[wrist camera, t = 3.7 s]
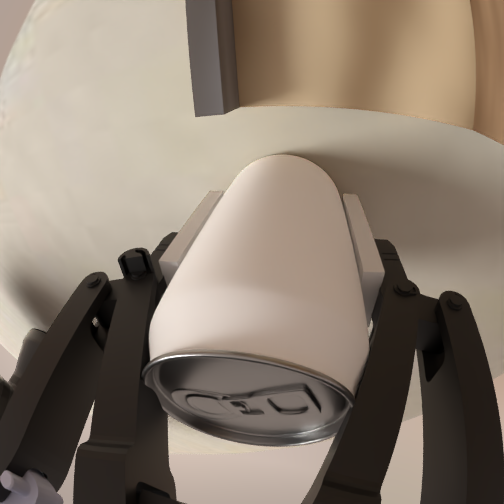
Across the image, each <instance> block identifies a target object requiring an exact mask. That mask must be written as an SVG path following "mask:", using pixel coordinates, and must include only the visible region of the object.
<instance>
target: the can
mask: <svg viewBox="0 0 504 504" xmlns="http://www.w3.org/2000/svg"><path fill="white" fill-rule="evenodd" d="M149 352H150V362H149V363H148V364H147V365H146V366H145V367H144V369H143V371H142V376H141V378H142V381H143V382H144V384H145V385H146V386H148V387H150V388H151V389H153V390H154V391H155V393H156V394H157V396H158V398H159V401H160V403H161V406H162V408H163V410H164V411H165V413H167V414H168V415H170V416H171V417H173V418H174V419H176V420H178V421H179V422H181V423H183V424H185V425H187V426H189V427H191V428H193V429H195V430H198V431H200V432H203V433H205V434H208V435H211V436H214V437H217V438H221V439H225V440H228V441H233V442H238V443H243V444H249V445H258V446H272V447H284V446H299V445H306V444H312V443H316V442H320V441H324V440H327V439H329V438H332V437H334V436H336V434H337V432H338V431H339V428H340V426H341V424H342V422H343V420H344V418H345V416H346V414H347V412H348V410H349V408H350V407H351V408H352V407H353V405H354V403H355V402H356V399H355V395H356V392H357V389H358V387H359V384H360V381H361V378H362V376H363V373H364V370H365V367H366V364H367V361H368V357H369V353H370V347H369V336H368V327H367V320H366V313H365V307H364V301H363V295H362V289H361V284H360V278H359V273H358V268H357V263H356V259H355V254H354V249H353V245H352V241H351V236H350V232H349V228H348V224H347V220H346V216H345V213H344V209H343V205H342V202H341V198H340V195H339V192H338V190H337V188H336V186H335V184H334V182H333V181H332V179H331V178H330V177H329V175H328V174H327V173H326V172H325V171H324V170H323V169H321V168H320V167H319V166H317V165H316V164H314V163H313V162H311V161H309V160H306V159H304V158H301V157H298V156H293V155H272V156H267V157H263V158H261V159H258V160H256V161H254V162H252V163H251V164H249V165H248V166H246V167H245V168H244V169H243V170H242V171H241V172H240V173H239V174H238V175H237V176H236V178H235V179H234V180H233V182H232V183H231V185H230V186H229V188H228V189H227V191H226V192H225V194H224V195H223V197H222V198H221V200H220V201H219V203H218V204H217V206H216V208H215V209H214V211H213V212H212V214H211V215H210V217H209V218H208V220H207V222H206V223H205V225H204V226H203V228H202V230H201V231H200V233H199V235H198V236H197V238H196V239H195V241H194V243H193V244H192V246H191V248H190V249H189V251H188V253H187V254H186V256H185V258H184V260H183V261H182V263H181V265H180V266H179V268H178V270H177V271H176V273H175V275H174V277H173V279H172V280H171V282H170V284H169V286H168V287H167V289H166V291H165V293H164V295H163V297H162V299H161V300H160V302H159V304H158V306H157V308H156V310H155V313H154V315H153V318H152V320H151V324H150V329H149Z"/></svg>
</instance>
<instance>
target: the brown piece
mask: <svg viewBox="0 0 504 504" xmlns="http://www.w3.org/2000/svg"><path fill="white" fill-rule="evenodd" d="M186 17H187V32H188V45H189V57H190V69H191V79H192V90H193V100H194V109H195V117H200V116H211V115H223V114H226V113H228V112H230V111H232V110H235V109H237V108H239V107H256V106H315V107H335V108H349V109H360V110H369V111H378V112H386V113H393V114H400V115H406V116H412V117H417V118H423V119H428V120H433V121H438V122H442V123H447V124H451V125H455V126H459V127H463V128H467V129H471V130H474V131H476V132H478V133H480V134H482V135H485V136H487V137H489V138H491V139H493V140H495V141H497V142H499V143H501V144H503V145H504V0H186Z"/></svg>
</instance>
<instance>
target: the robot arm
mask: <svg viewBox="0 0 504 504" xmlns="http://www.w3.org/2000/svg"><path fill="white" fill-rule="evenodd" d="M222 197H223V191H209V193H208V194H207V195H206V197H205V198H204V199H203V200H202V202H201V203H200V204H199V206H198V207H197V208H196V210H195V211H194V212H193V214H192V215H191V216H190V218H189V219H188V220H187V222H186V223H185V225H184V226H183V227H182V229H181V230H180V231H179V233H177V232H172V233H170V234H169V235H167V236H166V237H164V238H163V240H162V241H161V242H160V244H159V245H158V246H157V247H156V249H155V251H153V253H152V254H151V255H150V254H149V251H148V250H147V249H144V248H134V249H130V250H128V251H126V252H124V253H123V254H122V255H120V257H119V258H118V262H119V265H120V268H121V270H122V273H123V276H124V278H123V279H119V280H112V281H109V279H108V276H107V275H106V274H105V273H104V272H95V273H92V274H90V275H88V276H87V277H86V278H85V279H84V280H83V281H82V282H81V283H80V285H79V286H78V287H77V289H76V290H75V292H74V293H73V294H72V296H71V297H70V299H69V300H68V302H67V303H66V304H65V306H64V307H63V309H62V310H61V312H60V313H59V315H58V316H57V318H56V319H55V321H54V322H53V324H52V326H51V327H50V329H49V330H48V332H47V334H46V333H44V332H42V331H39V330H36V329H31V330H30V331H29V332H28V334H27V335H26V337H25V338H24V340H23V345H22V348H21V351H20V354H19V358H18V362H17V366H16V369H15V372H14V374H13V375H12V377H11V378H10V380H9V381H8V382H7V381H5V380H4V379H3V378H2V377H1V376H0V504H63V499H62V497H61V496H60V495H59V494H58V493H57V492H58V490H59V489H60V487H61V486H62V484H63V482H64V480H65V478H66V476H67V474H68V471H69V468H70V466H71V463H72V460H73V457H74V454H75V451H76V448H77V445H78V442H79V439H80V437H81V434H82V431H83V428H84V426H85V423H86V420H87V418H88V415H89V413H90V410H91V408H92V405H93V402H94V400H95V403H94V409H93V416H92V424H91V432H90V438H89V440H88V441H87V442H85V443H82V444H80V446H79V447H78V449H77V453H76V459H75V472H74V493H73V495H74V496H73V504H185V503H182V502H179V501H177V500H176V489H175V482H174V478H173V476H172V474H171V471H170V468H169V458H168V457H169V455H168V414H167V413H165V411H164V410H163V408H162V406H161V403H160V401H159V398H158V396H157V394H156V393H155V391H154V390H153V389H151V388H150V387H148V386H146V385H145V384H144V382H143V381H142V378H141V376H142V371H143V369H144V367H145V366H146V365H147V364H148V363H149V362H150V352H149V329H150V324H151V320H152V318H153V315H154V313H155V310H156V308H157V306H158V304H159V302H160V300H161V299H162V297H163V295H164V293H165V291H166V289H167V287H168V286H169V284H170V282H171V280H172V279H173V277H174V275H175V273H176V271H177V270H178V268H179V266H180V265H181V263H182V261H183V260H184V258H185V256H186V254H187V253H188V251H189V249H190V248H191V246H192V244H193V243H194V241H195V239H196V238H197V236H198V235H199V233H200V231H201V230H202V228H203V226H204V225H205V223H206V222H207V220H208V218H209V217H210V215H211V214H212V212H213V211H214V209H215V208H216V206H217V204H218V203H219V201H220V200H221V198H222ZM342 205H343V209H344V213H345V216H346V220H347V224H348V228H349V232H350V236H351V241H352V245H353V249H354V254H355V259H356V263H357V268H358V273H359V278H360V284H361V289H362V295H363V301H364V307H365V313H366V320H367V327H369V325H370V322H371V318H372V321H373V328H372V331H371V334H370V337H369V347H370V353H369V357H368V361H367V364H366V367H365V370H364V373H363V376H362V378H361V381H360V384H359V387H358V389H357V392H356V395H355V399H356V402H355V403H354V405H353V407H352V408H351V407H350V408H349V410H348V412H347V414H346V416H345V418H344V420H343V422H342V424H341V426H340V428H339V431H338V432H337V434H336V436H335V438H334V440H333V443H332V445H331V447H330V449H329V452H328V454H327V456H326V458H325V460H324V462H323V465H322V467H321V469H320V471H319V473H318V475H317V477H316V479H315V481H314V483H313V485H312V487H311V488H310V490H309V492H308V493H307V495H306V497H305V498H304V500H303V501H302V503H301V504H381V495H380V490H381V486H382V483H383V480H384V478H385V475H386V472H387V469H388V466H389V463H390V460H391V457H392V454H393V451H394V448H395V444H396V440H397V437H398V434H399V430H400V426H401V422H402V418H403V414H404V410H405V405H406V401H407V396H408V391H409V386H410V380H411V375H412V368H413V362H414V355H415V349H416V351H417V358H418V366H419V375H420V384H421V396H422V411H423V442H424V443H423V477H422V492H421V501H420V504H504V452H503V441H502V432H501V424H500V416H499V410H498V405H497V399H496V394H495V390H494V384H493V380H492V376H491V372H490V368H489V364H488V360H487V357H486V353H485V350H484V346H483V343H482V340H481V337H480V334H479V331H478V328H477V325H476V322H475V319H474V316H473V313H472V311H471V308H470V305H469V303H468V302H467V300H466V299H465V298H464V297H463V296H462V295H461V294H459V293H457V292H453V291H445V292H443V293H442V294H441V295H440V297H439V299H435V298H431V297H427V296H424V295H422V294H420V291H419V288H418V287H417V286H416V284H414V283H413V282H412V281H410V280H408V279H407V276H406V274H405V271H404V269H403V266H402V264H401V261H400V259H399V256H398V255H397V251H396V249H395V246H393V245H392V244H391V243H390V242H389V241H388V240H380V239H374V238H373V235H372V232H371V229H370V227H369V224H368V221H367V218H366V216H365V213H364V211H363V208H362V205H361V203H360V200H359V198H358V195H357V194H343V202H342ZM94 317H96V319H97V321H98V322H97V324H96V325H95V326H94V325H93V323H92V321H93V319H94Z"/></svg>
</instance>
